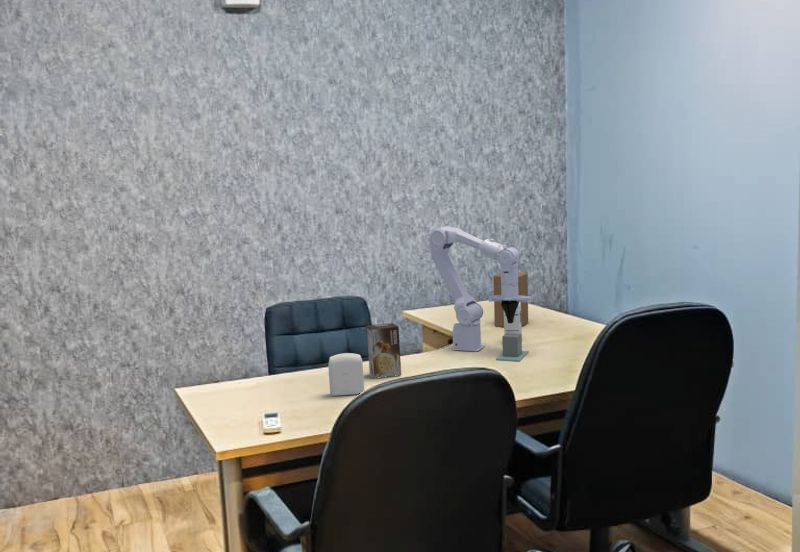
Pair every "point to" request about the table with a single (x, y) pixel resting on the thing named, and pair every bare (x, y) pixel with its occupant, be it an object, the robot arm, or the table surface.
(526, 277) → the wooden block
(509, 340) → the dark grey block
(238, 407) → the table surface
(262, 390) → the table surface
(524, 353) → the teal base stand
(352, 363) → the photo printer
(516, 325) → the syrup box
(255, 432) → the table surface
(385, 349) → the coffee box
